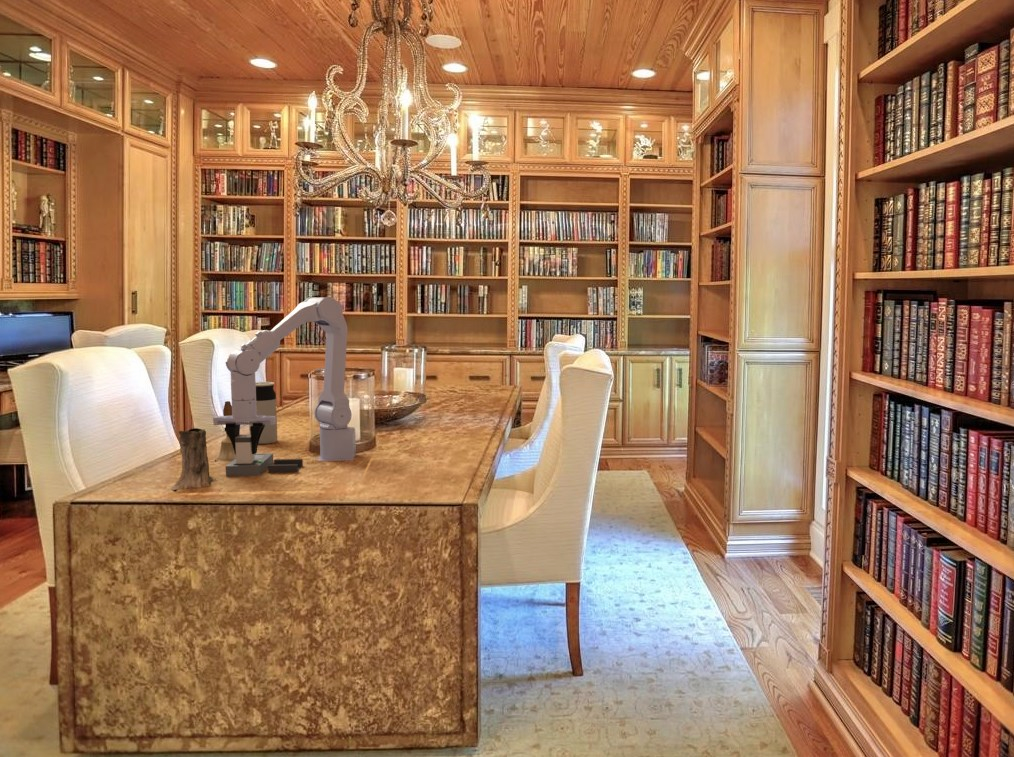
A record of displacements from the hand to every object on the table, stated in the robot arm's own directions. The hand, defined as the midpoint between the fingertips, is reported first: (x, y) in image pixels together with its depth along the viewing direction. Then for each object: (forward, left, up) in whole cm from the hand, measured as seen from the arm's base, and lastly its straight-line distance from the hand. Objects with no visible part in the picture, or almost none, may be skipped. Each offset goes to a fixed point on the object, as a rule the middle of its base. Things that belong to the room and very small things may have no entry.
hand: (245, 453), depth 179 cm
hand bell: (+9, -18, -6) cm, 20 cm away
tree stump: (+9, +10, -6) cm, 15 cm away
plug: (0, +1, -2) cm, 2 cm away
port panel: (0, -4, -5) cm, 6 cm away
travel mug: (+6, -41, -6) cm, 41 cm away
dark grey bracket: (-9, -3, -5) cm, 11 cm away
